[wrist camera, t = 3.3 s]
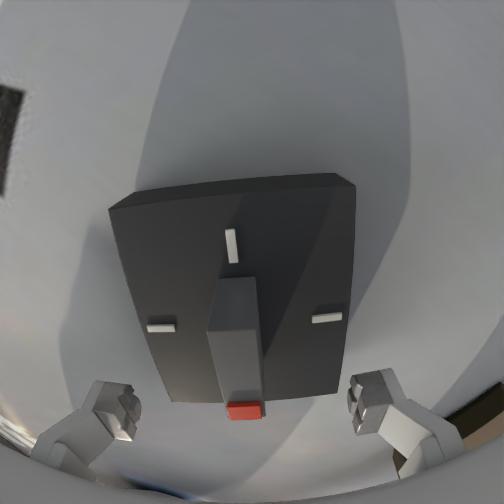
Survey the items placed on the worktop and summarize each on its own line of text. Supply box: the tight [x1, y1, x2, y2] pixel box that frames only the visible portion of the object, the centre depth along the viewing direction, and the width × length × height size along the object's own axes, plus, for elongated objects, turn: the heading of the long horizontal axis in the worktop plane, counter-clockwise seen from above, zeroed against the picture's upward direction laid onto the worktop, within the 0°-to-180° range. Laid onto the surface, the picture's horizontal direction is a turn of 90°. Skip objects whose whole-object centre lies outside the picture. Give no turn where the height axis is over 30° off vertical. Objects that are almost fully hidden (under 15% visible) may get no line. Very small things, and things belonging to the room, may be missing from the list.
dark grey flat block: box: [108, 173, 356, 403], centre depth 15 cm, size 12×10×3 cm
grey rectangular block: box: [207, 276, 265, 420], centre depth 12 cm, size 5×2×4 cm, turn 5°
